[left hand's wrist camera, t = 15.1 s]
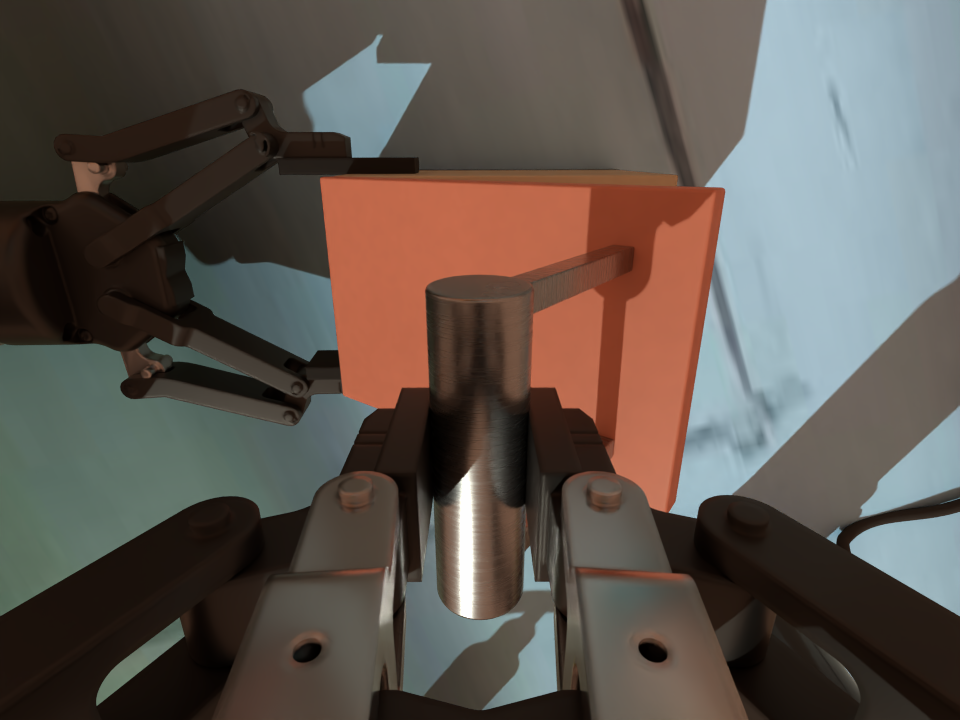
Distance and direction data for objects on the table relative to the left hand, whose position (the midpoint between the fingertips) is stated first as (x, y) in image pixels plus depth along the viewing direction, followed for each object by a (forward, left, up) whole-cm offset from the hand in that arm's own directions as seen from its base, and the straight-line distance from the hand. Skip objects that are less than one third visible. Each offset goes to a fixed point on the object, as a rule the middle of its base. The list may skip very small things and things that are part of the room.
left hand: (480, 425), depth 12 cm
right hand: (+3, 0, -18) cm, 18 cm away
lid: (0, 0, -9) cm, 9 cm away
